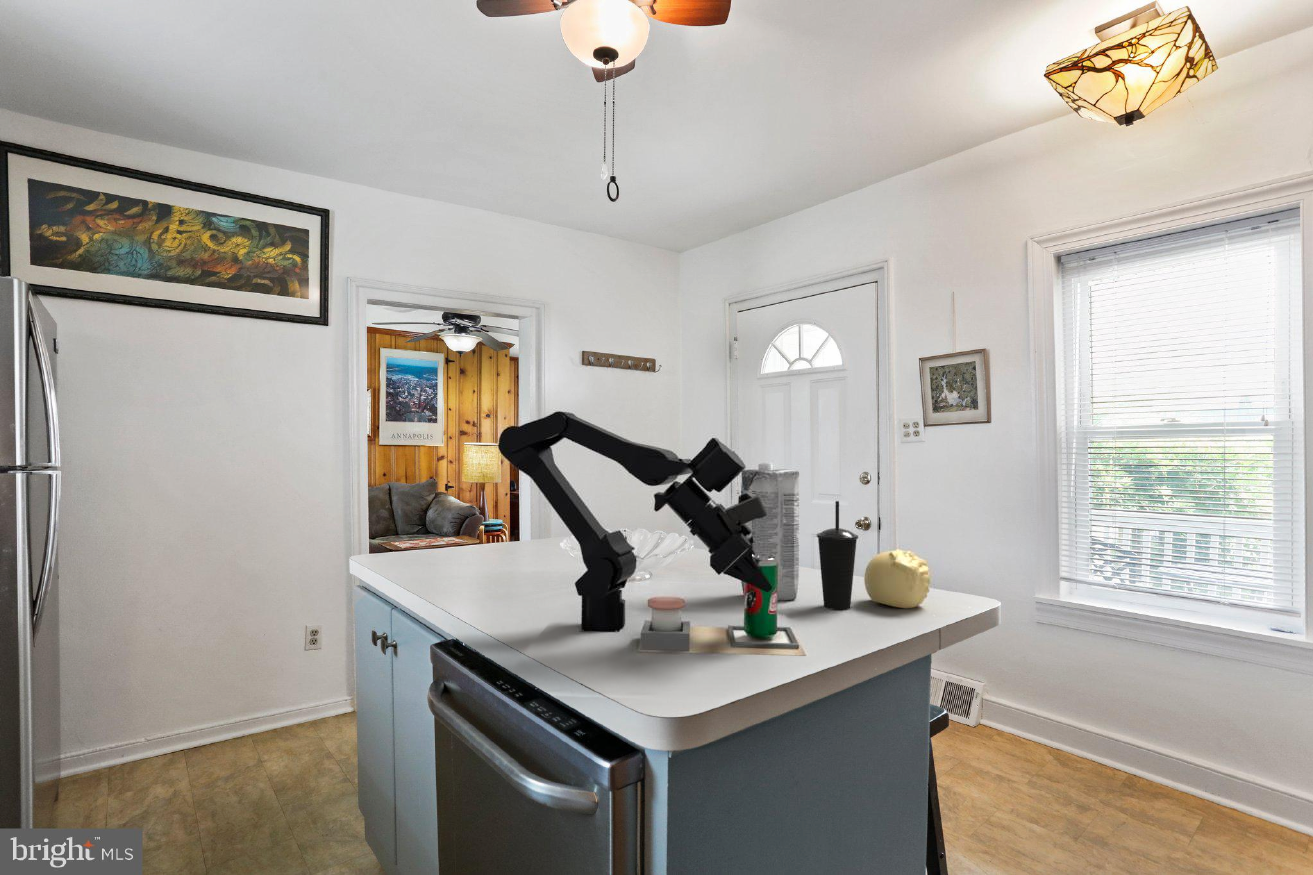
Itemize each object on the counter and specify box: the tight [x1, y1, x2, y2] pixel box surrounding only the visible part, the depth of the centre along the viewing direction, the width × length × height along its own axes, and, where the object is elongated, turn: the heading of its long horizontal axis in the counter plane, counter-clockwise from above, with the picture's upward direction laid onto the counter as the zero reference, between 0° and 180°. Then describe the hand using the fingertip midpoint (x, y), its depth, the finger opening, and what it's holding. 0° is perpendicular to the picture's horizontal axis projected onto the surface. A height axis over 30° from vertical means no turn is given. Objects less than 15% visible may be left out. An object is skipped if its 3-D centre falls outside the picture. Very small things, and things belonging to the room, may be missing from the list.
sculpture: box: [863, 548, 931, 609], centre depth 129 cm, size 12×12×11 cm
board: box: [636, 625, 807, 657], centre depth 102 cm, size 24×14×1 cm, turn 86°
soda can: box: [743, 555, 779, 639], centre depth 103 cm, size 5×5×12 cm
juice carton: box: [740, 462, 800, 602], centre depth 134 cm, size 9×10×27 cm
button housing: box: [640, 620, 691, 651], centre depth 99 cm, size 7×7×2 cm
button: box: [647, 596, 686, 632], centre depth 100 cm, size 6×6×4 cm
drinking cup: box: [816, 500, 859, 611], centre depth 127 cm, size 8×8×20 cm
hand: (770, 586), depth 102 cm, fingers open, 5 cm apart
